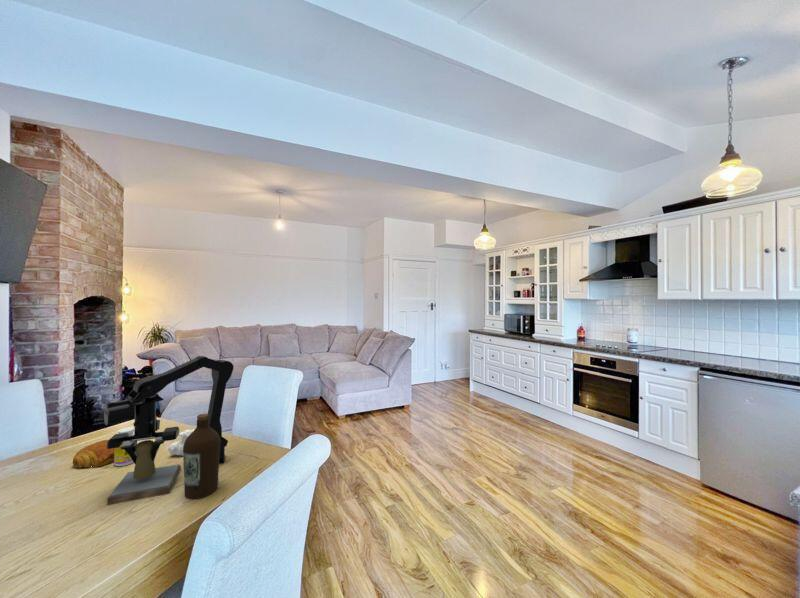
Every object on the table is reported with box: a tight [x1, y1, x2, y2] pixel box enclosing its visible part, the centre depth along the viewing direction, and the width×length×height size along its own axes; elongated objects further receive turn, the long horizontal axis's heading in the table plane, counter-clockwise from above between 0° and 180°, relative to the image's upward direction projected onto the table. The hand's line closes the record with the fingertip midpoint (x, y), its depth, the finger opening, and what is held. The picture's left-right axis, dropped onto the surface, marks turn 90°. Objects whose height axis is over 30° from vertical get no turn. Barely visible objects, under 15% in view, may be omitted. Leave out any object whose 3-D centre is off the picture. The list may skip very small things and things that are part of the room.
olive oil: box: [182, 413, 220, 500], centre depth 108 cm, size 11×11×25 cm
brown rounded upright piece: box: [133, 439, 156, 479], centre depth 110 cm, size 6×6×11 cm
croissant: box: [72, 439, 115, 469], centre depth 128 cm, size 14×16×8 cm
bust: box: [167, 428, 196, 457], centre depth 134 cm, size 12×8×11 cm
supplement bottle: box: [113, 427, 134, 467], centre depth 126 cm, size 7×7×13 cm
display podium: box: [106, 464, 182, 506], centre depth 110 cm, size 16×16×2 cm
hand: (144, 462), depth 110 cm, fingers closed on brown rounded upright piece, 4 cm apart
